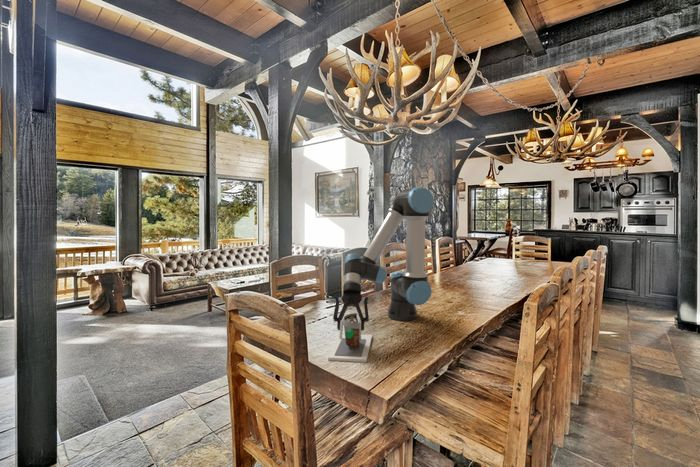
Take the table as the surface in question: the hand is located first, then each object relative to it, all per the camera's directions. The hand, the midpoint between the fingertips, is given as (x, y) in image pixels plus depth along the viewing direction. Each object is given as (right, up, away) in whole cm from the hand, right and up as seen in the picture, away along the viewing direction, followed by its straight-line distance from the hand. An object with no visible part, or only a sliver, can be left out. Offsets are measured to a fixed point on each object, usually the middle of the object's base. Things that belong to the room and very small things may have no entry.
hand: (350, 337), depth 125 cm
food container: (0, -3, +4) cm, 5 cm away
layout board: (+1, -6, +6) cm, 8 cm away
